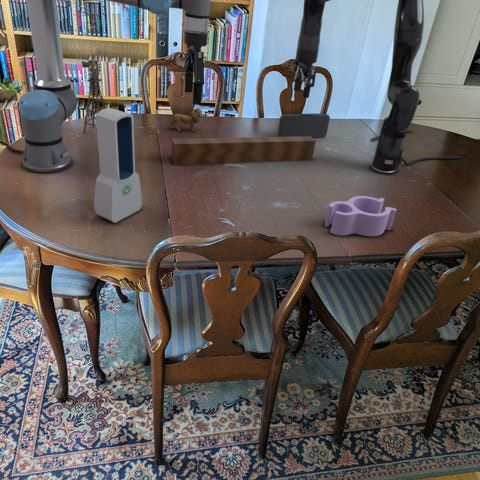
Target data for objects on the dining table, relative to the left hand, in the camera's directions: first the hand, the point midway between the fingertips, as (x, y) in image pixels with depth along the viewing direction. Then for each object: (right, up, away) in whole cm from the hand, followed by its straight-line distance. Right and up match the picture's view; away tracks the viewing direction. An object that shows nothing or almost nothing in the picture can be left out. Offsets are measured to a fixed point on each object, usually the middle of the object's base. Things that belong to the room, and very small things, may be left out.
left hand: (192, 98), depth 160 cm
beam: (+18, -18, +18) cm, 31 cm away
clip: (+52, -45, -17) cm, 71 cm away
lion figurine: (-7, -2, +40) cm, 40 cm away
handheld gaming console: (+44, -3, +45) cm, 63 cm away
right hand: (+39, +5, +11) cm, 40 cm away
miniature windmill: (-41, -5, +29) cm, 51 cm away
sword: (+87, -1, +57) cm, 104 cm away
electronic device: (-19, -41, -23) cm, 51 cm away
